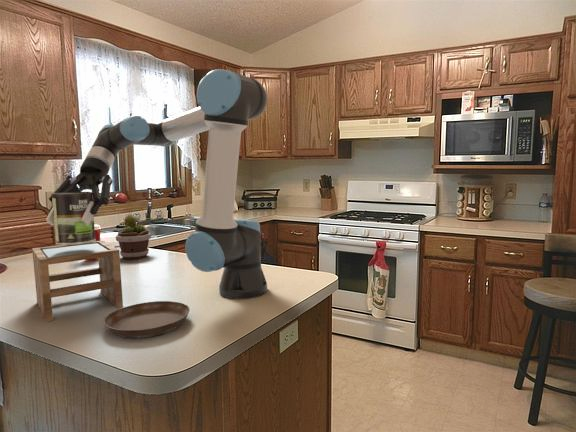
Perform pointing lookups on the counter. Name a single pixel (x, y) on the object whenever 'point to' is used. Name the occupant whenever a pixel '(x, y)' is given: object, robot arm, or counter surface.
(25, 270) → the counter surface
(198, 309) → the counter surface
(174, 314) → the plant saucer
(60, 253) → the lid
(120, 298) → the wooden stand
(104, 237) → the crystal
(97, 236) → the coffee cup
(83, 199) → the coffee can
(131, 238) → the flowerpot
